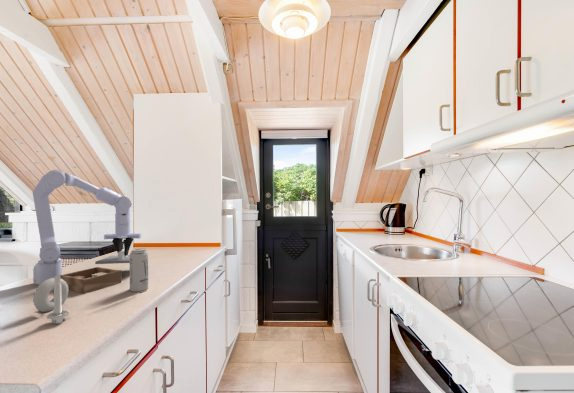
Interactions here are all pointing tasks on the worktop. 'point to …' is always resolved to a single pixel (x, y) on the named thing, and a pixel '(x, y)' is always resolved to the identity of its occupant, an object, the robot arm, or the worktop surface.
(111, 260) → the lid
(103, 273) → the cream block
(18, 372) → the worktop surface
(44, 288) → the donut
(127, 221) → the robot arm
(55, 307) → the screw
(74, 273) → the storage box
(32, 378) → the worktop surface
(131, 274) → the energy drink can
